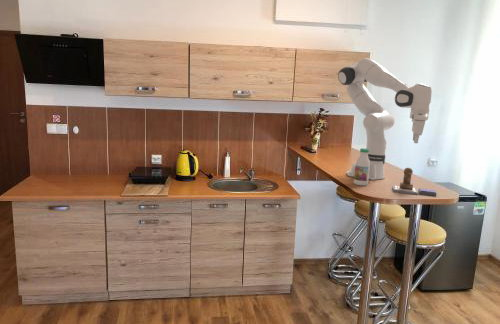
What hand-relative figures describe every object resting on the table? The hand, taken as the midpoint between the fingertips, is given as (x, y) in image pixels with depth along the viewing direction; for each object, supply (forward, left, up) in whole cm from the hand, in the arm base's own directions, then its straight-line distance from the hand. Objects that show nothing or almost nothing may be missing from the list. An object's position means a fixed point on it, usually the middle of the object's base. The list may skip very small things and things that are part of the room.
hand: (415, 141), depth 207 cm
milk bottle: (-25, 0, -27) cm, 36 cm away
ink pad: (+9, -3, -26) cm, 28 cm away
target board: (-2, -3, -26) cm, 27 cm away
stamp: (-2, -3, -25) cm, 25 cm away
